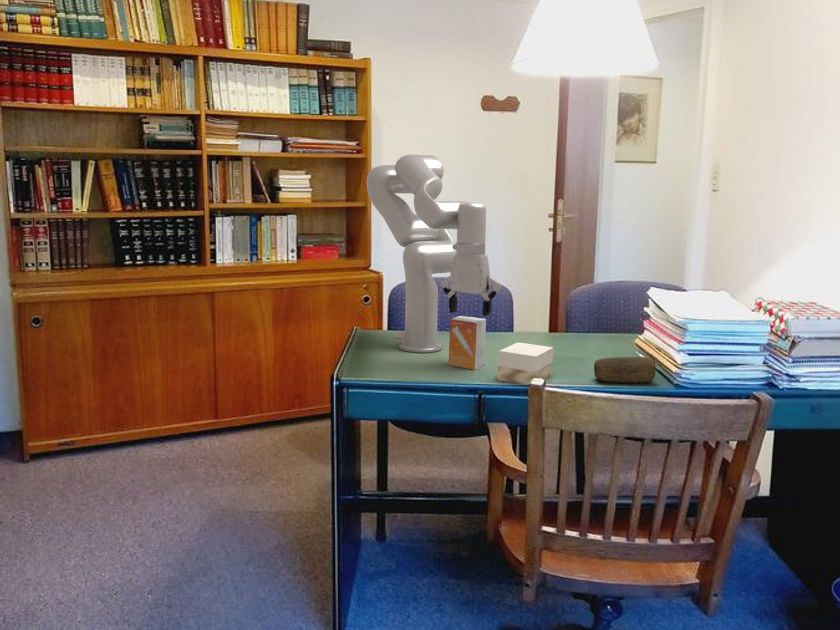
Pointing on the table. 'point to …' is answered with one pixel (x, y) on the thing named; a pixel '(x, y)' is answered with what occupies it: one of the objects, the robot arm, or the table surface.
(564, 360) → the table surface
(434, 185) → the robot arm
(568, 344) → the table surface
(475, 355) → the small box
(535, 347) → the white flat block
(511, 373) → the tower bottom
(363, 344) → the table surface
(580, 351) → the table surface
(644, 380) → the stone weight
